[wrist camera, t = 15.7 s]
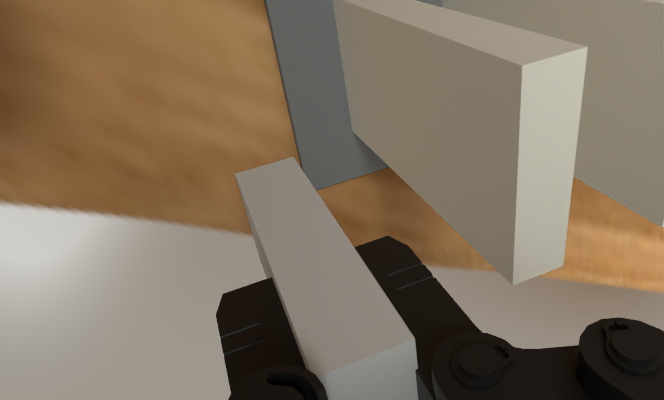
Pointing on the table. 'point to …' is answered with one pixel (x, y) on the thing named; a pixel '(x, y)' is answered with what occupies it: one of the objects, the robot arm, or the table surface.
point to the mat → (318, 91)
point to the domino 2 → (607, 88)
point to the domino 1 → (470, 121)
